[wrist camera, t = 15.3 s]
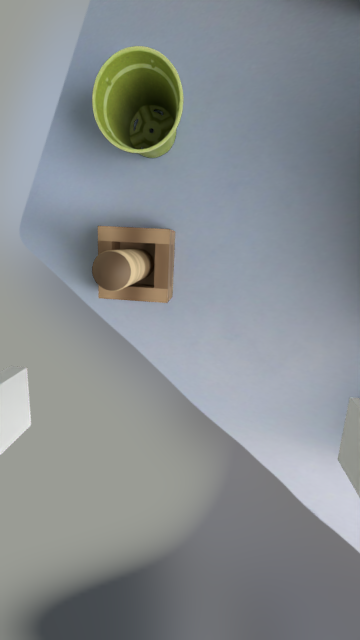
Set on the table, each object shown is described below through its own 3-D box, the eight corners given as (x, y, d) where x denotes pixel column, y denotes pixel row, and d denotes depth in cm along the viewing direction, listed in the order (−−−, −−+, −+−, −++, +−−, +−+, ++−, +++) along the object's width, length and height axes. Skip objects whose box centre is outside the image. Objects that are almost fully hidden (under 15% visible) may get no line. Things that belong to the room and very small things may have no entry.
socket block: (175, 231, 42) (170, 229, 37) (172, 296, 44) (167, 302, 39) (111, 228, 42) (97, 225, 38) (111, 292, 45) (98, 298, 40)
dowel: (154, 249, 41) (131, 251, 29) (153, 279, 42) (130, 293, 30) (125, 248, 41) (90, 249, 29) (125, 277, 42) (91, 290, 30)
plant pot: (201, 106, 38) (197, 65, 29) (174, 183, 40) (164, 165, 32) (131, 79, 38) (107, 31, 30) (108, 157, 40) (81, 133, 32)
